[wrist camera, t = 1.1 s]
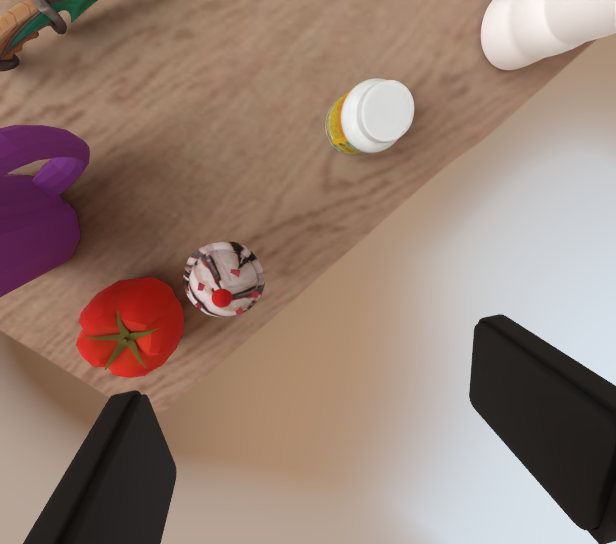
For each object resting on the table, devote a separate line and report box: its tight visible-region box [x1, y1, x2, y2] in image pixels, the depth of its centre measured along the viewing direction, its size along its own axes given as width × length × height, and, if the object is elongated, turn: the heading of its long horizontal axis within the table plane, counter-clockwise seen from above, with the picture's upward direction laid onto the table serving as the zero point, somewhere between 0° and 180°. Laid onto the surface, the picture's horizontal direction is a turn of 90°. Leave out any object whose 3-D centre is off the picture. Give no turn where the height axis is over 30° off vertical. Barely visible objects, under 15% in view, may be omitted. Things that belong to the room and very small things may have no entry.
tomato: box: [76, 277, 184, 378], centre depth 30 cm, size 9×9×8 cm
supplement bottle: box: [325, 78, 414, 154], centre depth 27 cm, size 5×5×10 cm
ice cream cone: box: [183, 242, 265, 317], centre depth 26 cm, size 6×6×15 cm
